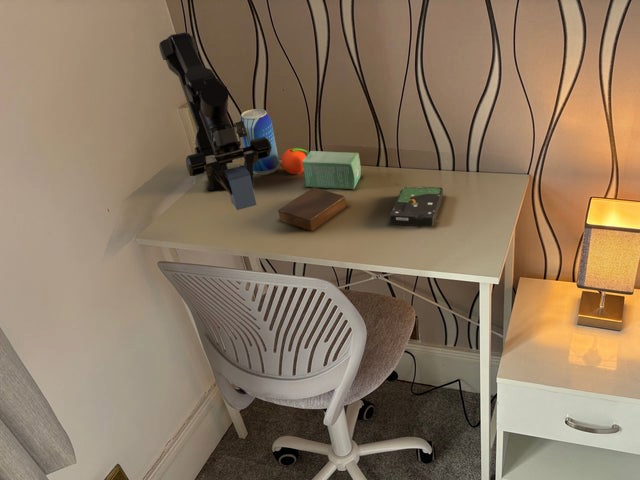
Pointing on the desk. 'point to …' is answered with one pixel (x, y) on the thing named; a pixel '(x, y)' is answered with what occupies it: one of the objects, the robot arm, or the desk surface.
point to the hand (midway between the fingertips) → (242, 191)
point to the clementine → (293, 160)
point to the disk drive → (417, 206)
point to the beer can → (258, 128)
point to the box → (331, 169)
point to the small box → (240, 187)
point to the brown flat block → (312, 208)
